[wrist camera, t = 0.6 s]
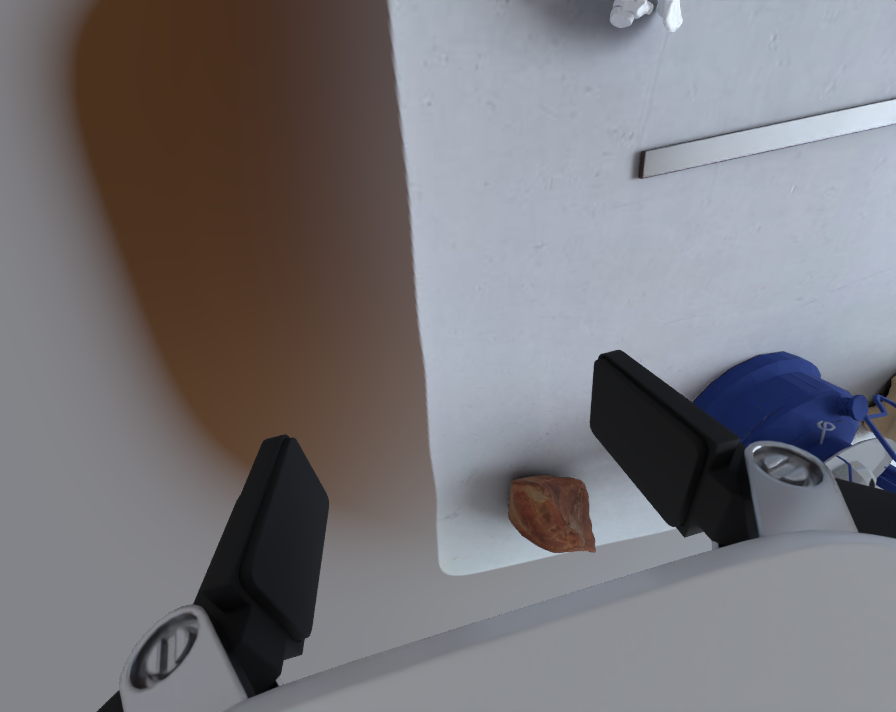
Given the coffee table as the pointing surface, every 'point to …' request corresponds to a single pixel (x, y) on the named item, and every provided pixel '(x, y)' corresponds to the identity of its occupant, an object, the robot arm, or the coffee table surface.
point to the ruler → (766, 138)
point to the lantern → (802, 416)
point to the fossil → (552, 513)
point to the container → (889, 425)
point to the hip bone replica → (646, 12)
